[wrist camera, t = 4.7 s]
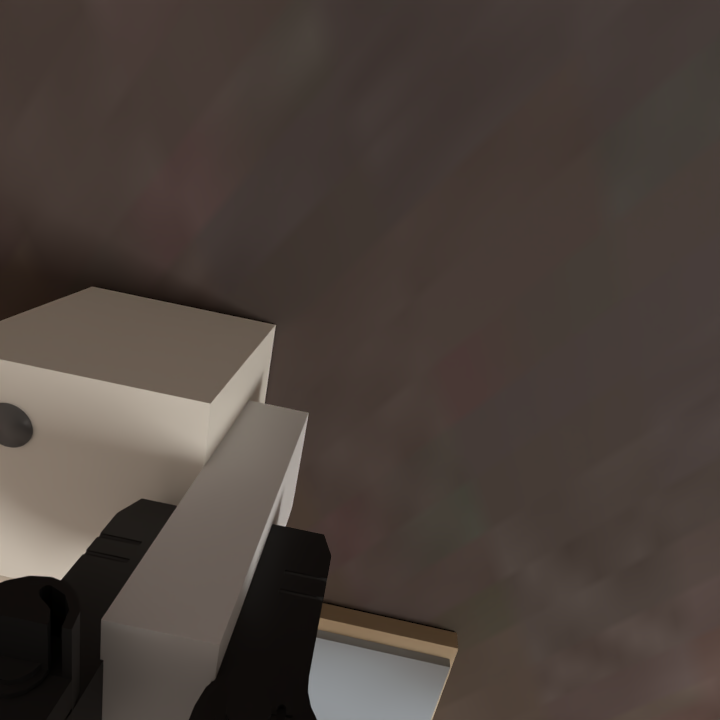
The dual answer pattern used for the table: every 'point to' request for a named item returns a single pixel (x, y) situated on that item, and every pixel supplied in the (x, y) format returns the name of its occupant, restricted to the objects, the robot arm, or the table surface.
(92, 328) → the die
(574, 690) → the table surface
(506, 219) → the table surface
